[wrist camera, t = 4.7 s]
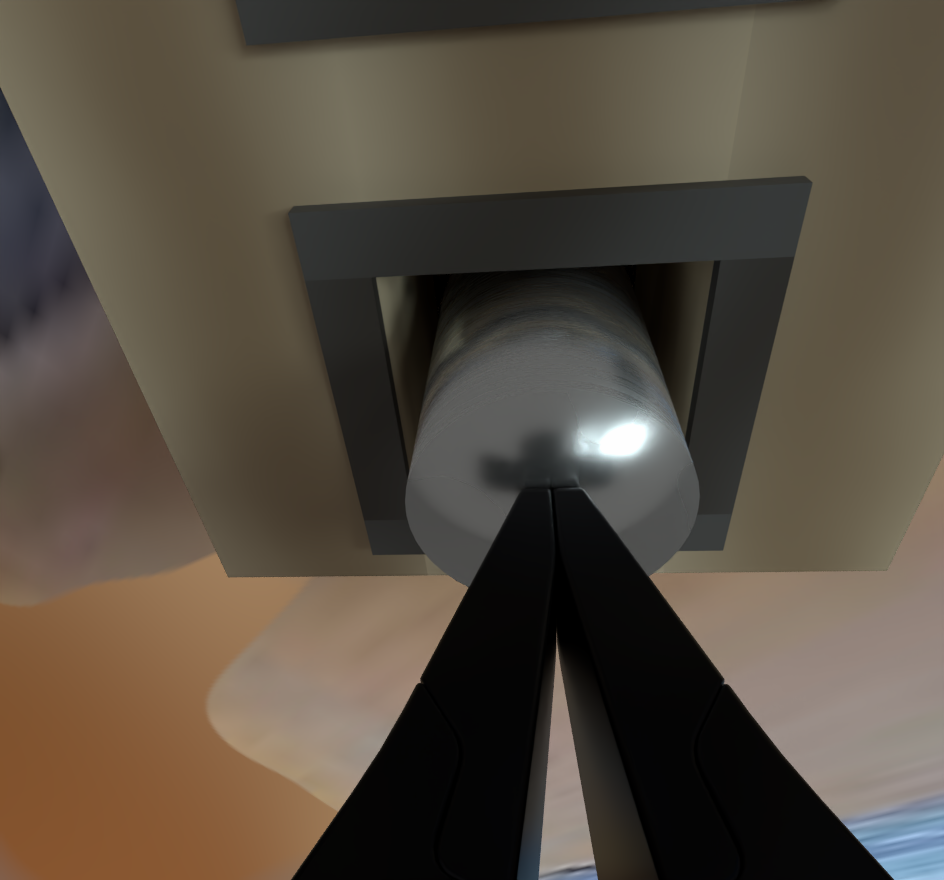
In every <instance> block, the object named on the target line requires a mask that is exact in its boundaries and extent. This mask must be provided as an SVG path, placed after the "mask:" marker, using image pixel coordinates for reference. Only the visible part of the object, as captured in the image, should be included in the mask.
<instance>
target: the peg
mask: <svg viewBox="0 0 944 880" xmlns="http://www.w3.org/2000/svg"><path fill="white" fill-rule="evenodd" d="M532 488H548V489H550V490H551V492H553V490H554V489H556V488H582V489H584V490H585V491H586V493H587V494H588V495H589V497H590V498H591V499H592V501H593V502H594V503H595V505H596V506H597V507H598V509H599V510H600V511H601V513H602V514H603V516H604V517H605V518H606V520H607V521H608V522H609V524H610V525H611V526H612V528H613V529H614V530H615V532H616V533H617V534H618V536H619V537H620V539H621V540H622V541H623V543H624V544H625V545H626V547H627V548H628V549H629V551H630V552H631V553H632V555H633V556H634V557H635V559H636V560H637V562H638V563H639V564H640V566H641V567H642V568H643V570H644V571H645V572H646V574H647V575H648V576H650V575H651V574H653V573H654V572H656V571H657V570H659V569H660V568H661V567H662V566H663V565H664V564H666V563H667V562H668V561H669V560H670V559H671V558H672V557H673V556H674V555H675V554H676V552H677V551H678V550H679V549H680V548H681V546H682V545H683V543H684V542H685V541H686V539H687V538H688V536H689V534H690V532H691V530H692V528H693V526H694V523H695V520H696V516H697V513H698V508H699V499H700V493H699V481H698V478H697V474H696V470H695V467H694V464H693V461H692V458H691V455H690V452H689V449H688V447H687V444H686V441H685V438H684V435H683V432H682V429H681V426H680V423H679V420H678V418H677V415H676V412H675V409H674V406H673V403H672V400H671V397H670V394H669V391H668V388H667V386H666V383H665V380H664V377H663V374H662V371H661V368H660V365H659V362H658V359H657V356H656V354H655V351H654V348H653V345H652V342H651V339H650V336H649V333H648V330H647V327H646V324H645V322H644V319H643V316H642V313H641V310H640V307H639V304H638V301H637V298H636V295H635V292H634V290H633V287H632V284H631V281H630V278H629V276H628V274H627V271H626V269H625V267H624V266H623V265H615V266H595V267H575V268H554V269H534V270H514V271H494V272H474V273H453V274H451V275H450V277H449V279H448V282H447V284H446V287H445V290H444V294H443V298H442V304H441V309H440V314H439V319H438V325H437V330H436V335H435V340H434V345H433V351H432V356H431V361H430V366H429V371H428V377H427V382H426V387H425V392H424V398H423V403H422V408H421V413H420V418H419V424H418V429H417V434H416V439H415V444H414V450H413V455H412V460H411V465H410V471H409V476H408V481H407V486H406V496H405V506H406V516H407V519H408V523H409V526H410V529H411V532H412V534H413V536H414V538H415V540H416V542H417V543H418V545H419V546H420V548H421V549H422V551H423V552H424V553H425V554H426V555H427V557H428V558H429V559H430V560H431V561H432V562H433V563H434V564H435V565H436V566H437V567H439V568H440V569H441V570H442V571H443V572H444V573H446V574H447V575H449V576H450V577H452V578H453V579H455V580H456V581H458V582H460V583H462V584H464V585H466V586H468V587H469V586H470V584H471V582H472V580H473V579H474V577H475V575H476V573H477V571H478V569H479V567H480V565H481V564H482V562H483V560H484V558H485V556H486V554H487V552H488V550H489V549H490V547H491V545H492V543H493V541H494V539H495V537H496V535H497V534H498V532H499V530H500V528H501V526H502V524H503V522H504V520H505V519H506V517H507V515H508V513H509V511H510V509H511V507H512V505H513V504H514V502H515V500H516V498H517V496H518V494H519V493H520V491H521V490H523V489H532Z"/></svg>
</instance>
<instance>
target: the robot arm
mask: <svg viewBox="0 0 944 880" xmlns="http://www.w3.org/2000/svg"><path fill="white" fill-rule="evenodd" d="M556 632H557V644H558V652H559V659H560V666H561V671H562V677H563V683H564V689H565V694H566V700H567V706H568V711H569V717H570V723H571V728H572V734H573V740H574V745H575V751H576V757H577V762H578V768H579V774H580V780H581V785H582V791H583V797H584V802H585V808H586V814H587V819H588V825H589V831H590V836H591V842H592V848H593V854H594V859H595V865H596V871H597V876H598V880H894V879H893V878H892V877H891V876H890V875H889V874H888V872H887V871H886V870H885V869H884V868H883V867H882V866H881V865H880V864H879V863H878V861H877V860H876V859H875V858H874V857H873V856H872V855H871V854H870V853H869V852H868V850H867V849H866V848H865V847H864V846H863V845H862V844H861V843H860V842H859V841H858V839H857V838H856V837H855V836H854V835H853V834H852V833H851V832H850V831H849V829H848V828H847V827H846V826H845V825H844V824H843V823H842V822H841V821H840V820H839V818H838V817H837V816H836V815H835V814H834V813H833V812H832V811H831V810H830V809H829V807H828V806H827V805H826V804H825V803H824V802H823V801H822V800H821V798H820V797H819V796H818V795H817V794H816V793H815V792H814V790H813V789H812V788H811V787H810V786H809V785H808V784H807V782H806V781H805V780H804V779H803V778H802V777H801V775H800V774H799V773H798V772H797V771H796V770H795V769H794V767H793V766H792V765H791V764H790V763H789V762H788V761H787V759H786V758H785V757H784V756H783V755H782V754H781V752H780V751H779V750H778V748H777V747H776V746H775V745H774V743H773V742H772V741H771V739H770V738H769V737H768V736H767V734H766V733H765V732H764V731H763V729H762V728H761V727H760V725H759V724H758V723H757V722H756V720H755V719H754V718H753V717H752V715H751V714H750V713H749V711H748V710H747V709H746V707H745V706H744V705H743V703H742V702H741V700H740V699H739V698H738V696H737V695H736V694H735V692H734V691H733V690H732V688H731V687H730V686H729V685H728V684H724V678H723V677H722V675H721V674H720V672H719V671H718V670H717V668H716V667H715V666H714V664H713V663H712V662H711V660H710V659H709V658H708V656H707V655H706V654H705V652H704V651H703V649H702V648H701V647H700V645H699V644H698V643H697V641H696V640H695V639H694V637H693V636H692V635H691V633H690V632H689V631H688V629H687V628H686V626H685V625H684V624H683V622H682V621H681V620H680V618H679V617H678V616H677V614H676V613H675V612H674V610H673V609H672V608H671V606H670V605H669V603H668V602H667V601H666V599H665V598H664V597H663V595H662V594H661V593H660V591H659V590H658V589H657V587H656V586H655V585H654V583H653V582H652V580H651V579H650V578H649V576H648V575H647V574H646V572H645V571H644V570H643V568H642V567H641V566H640V564H639V563H638V562H637V560H636V559H635V557H634V556H633V555H632V553H631V552H630V551H629V549H628V548H627V547H626V545H625V544H624V543H623V541H622V540H621V539H620V537H619V536H618V534H617V533H616V532H615V530H614V529H613V528H612V526H611V525H610V524H609V522H608V521H607V520H606V518H605V517H604V516H603V514H602V513H601V511H600V510H599V509H598V507H597V506H596V505H595V503H594V502H593V501H592V499H591V498H590V497H589V495H588V494H587V493H586V491H585V490H584V489H582V488H556V489H554V490H553V492H551V490H550V489H548V488H532V489H523V490H521V491H520V493H519V494H518V496H517V498H516V500H515V502H514V504H513V505H512V507H511V509H510V511H509V513H508V515H507V517H506V519H505V520H504V522H503V524H502V526H501V528H500V530H499V532H498V534H497V535H496V537H495V539H494V541H493V543H492V545H491V547H490V549H489V550H488V552H487V554H486V556H485V558H484V560H483V562H482V564H481V565H480V567H479V569H478V571H477V573H476V575H475V577H474V579H473V580H472V582H471V584H470V586H469V588H468V590H467V592H466V594H465V595H464V597H463V599H462V601H461V603H460V605H459V607H458V609H457V610H456V612H455V614H454V616H453V618H452V620H451V622H450V624H449V625H448V627H447V629H446V631H445V633H444V635H443V637H442V639H441V640H440V642H439V644H438V646H437V648H436V650H435V652H434V654H433V655H432V657H431V659H430V661H429V663H428V665H427V667H426V669H425V670H424V672H423V674H422V676H421V678H420V681H421V683H418V684H417V685H416V687H415V689H414V690H413V692H412V694H411V696H410V698H409V700H408V702H407V704H406V705H405V707H404V709H403V711H402V713H401V714H400V716H399V718H398V720H397V721H396V723H395V725H394V727H393V728H392V730H391V732H390V733H389V735H388V737H387V739H386V740H385V742H384V744H383V746H382V747H381V749H380V751H379V752H378V754H377V755H376V757H375V758H374V760H373V761H372V763H371V764H370V766H369V767H368V769H367V770H366V772H365V773H364V775H363V777H362V778H361V780H360V781H359V783H358V784H357V786H356V787H355V789H354V790H353V792H352V793H351V795H350V796H349V797H348V799H347V800H346V802H345V803H344V805H343V806H342V808H341V809H340V810H339V812H338V813H337V815H336V816H335V818H334V819H333V821H332V822H331V823H330V825H329V826H328V828H327V829H326V831H325V832H324V833H323V835H322V836H321V838H320V839H319V840H318V842H317V843H316V845H315V846H314V848H313V849H312V850H311V852H310V853H309V855H308V856H307V858H306V859H305V861H304V862H303V863H302V865H301V866H300V868H299V869H298V871H297V872H296V873H295V875H294V876H293V878H292V879H291V880H538V877H539V865H540V852H541V839H542V827H543V814H544V801H545V789H546V776H547V764H548V751H549V738H550V726H551V713H552V701H553V688H554V675H555V662H556Z"/></svg>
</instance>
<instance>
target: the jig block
mask: <svg viewBox="0 0 944 880" xmlns="http://www.w3.org/2000/svg"><path fill="white" fill-rule="evenodd" d="M0 88H1V90H2V92H3V94H4V96H5V98H6V100H7V103H8V105H9V107H10V109H11V111H12V113H13V116H14V118H15V120H16V122H17V124H18V126H19V128H20V131H21V133H22V135H23V137H24V139H25V141H26V143H27V146H28V148H29V150H30V152H31V154H32V156H33V159H34V161H35V163H36V165H37V167H38V169H39V171H40V174H41V176H42V178H43V180H44V182H45V184H46V187H47V189H48V191H49V193H50V195H51V197H52V199H53V202H54V204H55V206H56V208H57V210H58V212H59V214H60V217H61V219H62V221H63V223H64V225H65V227H66V230H67V232H68V234H69V236H70V238H71V240H72V242H73V245H74V247H75V249H76V251H77V253H78V255H79V258H80V260H81V262H82V264H83V266H84V268H85V270H86V273H87V275H88V277H89V279H90V281H91V283H92V285H93V288H94V290H95V292H96V294H97V296H98V298H99V301H100V303H101V305H102V307H103V309H104V311H105V313H106V316H107V318H108V320H109V322H110V324H111V326H112V329H113V331H114V333H115V335H116V337H117V339H118V341H119V344H120V346H121V348H122V350H123V352H124V354H125V356H126V359H127V361H128V363H129V365H130V367H131V369H132V372H133V374H134V376H135V378H136V380H137V382H138V384H139V387H140V389H141V391H142V393H143V395H144V397H145V400H146V402H147V404H148V406H149V408H150V410H151V412H152V415H153V417H154V419H155V421H156V423H157V425H158V428H159V430H160V432H161V434H162V436H163V438H164V440H165V443H166V445H167V447H168V449H169V451H170V453H171V455H172V458H173V460H174V462H175V464H176V466H177V468H178V471H179V473H180V475H181V477H182V479H183V481H184V483H185V486H186V488H187V490H188V492H189V494H190V496H191V499H192V501H193V503H194V505H195V507H196V509H197V511H198V514H199V516H200V518H201V520H202V522H203V524H204V526H205V529H206V531H207V533H208V535H209V537H210V539H211V542H212V544H213V546H214V548H215V550H216V552H217V554H218V557H219V559H220V561H221V563H222V565H223V567H224V569H225V571H226V574H227V576H228V577H300V576H302V577H307V576H407V575H447V574H446V573H444V572H443V571H442V570H441V569H440V568H439V567H437V566H436V565H435V564H434V563H433V562H432V561H431V560H430V559H429V558H428V557H427V555H426V554H425V553H424V552H423V551H422V549H421V548H420V546H419V545H418V543H417V542H416V540H415V538H414V536H413V534H412V532H411V529H410V526H409V523H408V519H407V516H406V506H405V496H406V486H407V481H408V476H409V471H410V465H411V460H412V455H413V450H414V444H415V439H416V434H417V429H418V424H419V418H420V413H421V408H422V403H423V398H424V392H425V387H426V382H427V377H428V371H429V366H430V361H431V356H432V351H433V345H434V340H435V335H436V330H437V325H438V315H437V306H436V297H435V289H434V280H433V274H453V273H474V272H494V271H514V270H534V269H554V268H575V267H595V266H615V265H635V264H636V276H635V287H634V292H635V295H636V298H637V301H638V304H639V307H640V310H641V313H642V316H643V319H644V322H645V324H646V327H647V330H648V333H649V336H650V339H651V342H652V345H653V348H654V351H655V354H656V356H657V359H658V362H659V365H660V368H661V371H662V374H663V377H664V380H665V383H666V386H667V388H668V391H669V394H670V397H671V400H672V403H673V406H674V409H675V412H676V415H677V418H678V420H679V423H680V426H681V429H682V432H683V435H684V438H685V441H686V444H687V447H688V449H689V452H690V455H691V458H692V461H693V464H694V467H695V470H696V474H697V478H698V481H699V493H700V499H699V508H698V513H697V516H696V520H695V523H694V526H693V528H692V530H691V532H690V534H689V536H688V538H687V539H686V541H685V542H684V543H683V545H682V546H681V548H680V549H679V550H678V551H677V552H676V554H675V555H674V556H673V557H672V558H671V559H670V560H669V561H668V562H667V563H666V564H664V565H663V566H662V567H661V568H660V569H659V570H657V571H656V572H654V573H704V572H804V571H887V570H888V568H889V566H890V563H891V561H892V559H893V557H894V555H895V553H896V551H897V549H898V547H899V545H900V543H901V541H902V539H903V537H904V535H905V533H906V531H907V528H908V526H909V524H910V522H911V520H912V518H913V516H914V514H915V512H916V510H917V508H918V506H919V504H920V502H921V500H922V498H923V496H924V493H925V491H926V489H927V487H928V485H929V483H930V481H931V479H932V477H933V475H934V473H935V471H936V469H937V467H938V465H939V463H940V461H941V458H942V456H943V454H944V0H0Z"/></svg>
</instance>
